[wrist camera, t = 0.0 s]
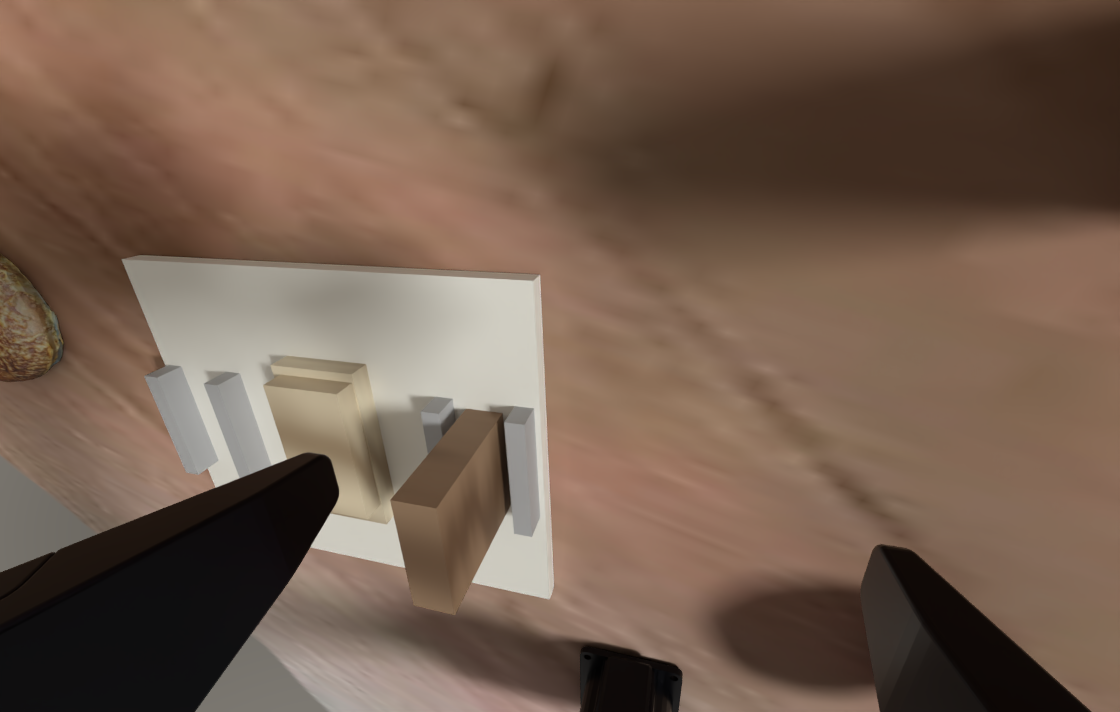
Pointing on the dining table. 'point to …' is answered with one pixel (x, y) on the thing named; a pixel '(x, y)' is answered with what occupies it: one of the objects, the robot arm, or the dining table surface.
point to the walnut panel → (453, 510)
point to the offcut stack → (334, 429)
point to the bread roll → (25, 328)
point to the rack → (393, 367)
